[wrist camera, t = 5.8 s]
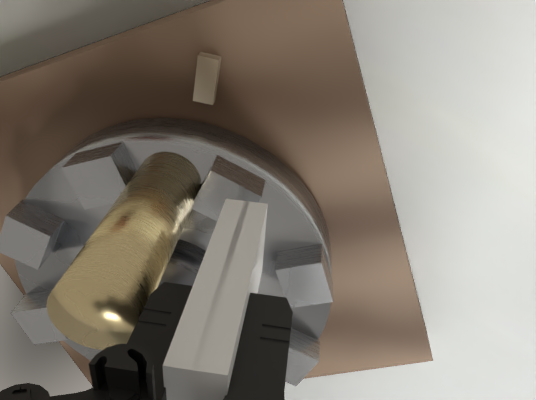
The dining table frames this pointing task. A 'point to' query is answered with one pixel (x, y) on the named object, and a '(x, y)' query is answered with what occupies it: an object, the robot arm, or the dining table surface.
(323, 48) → the base plate
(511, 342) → the dining table surface
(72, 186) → the crank wheel
